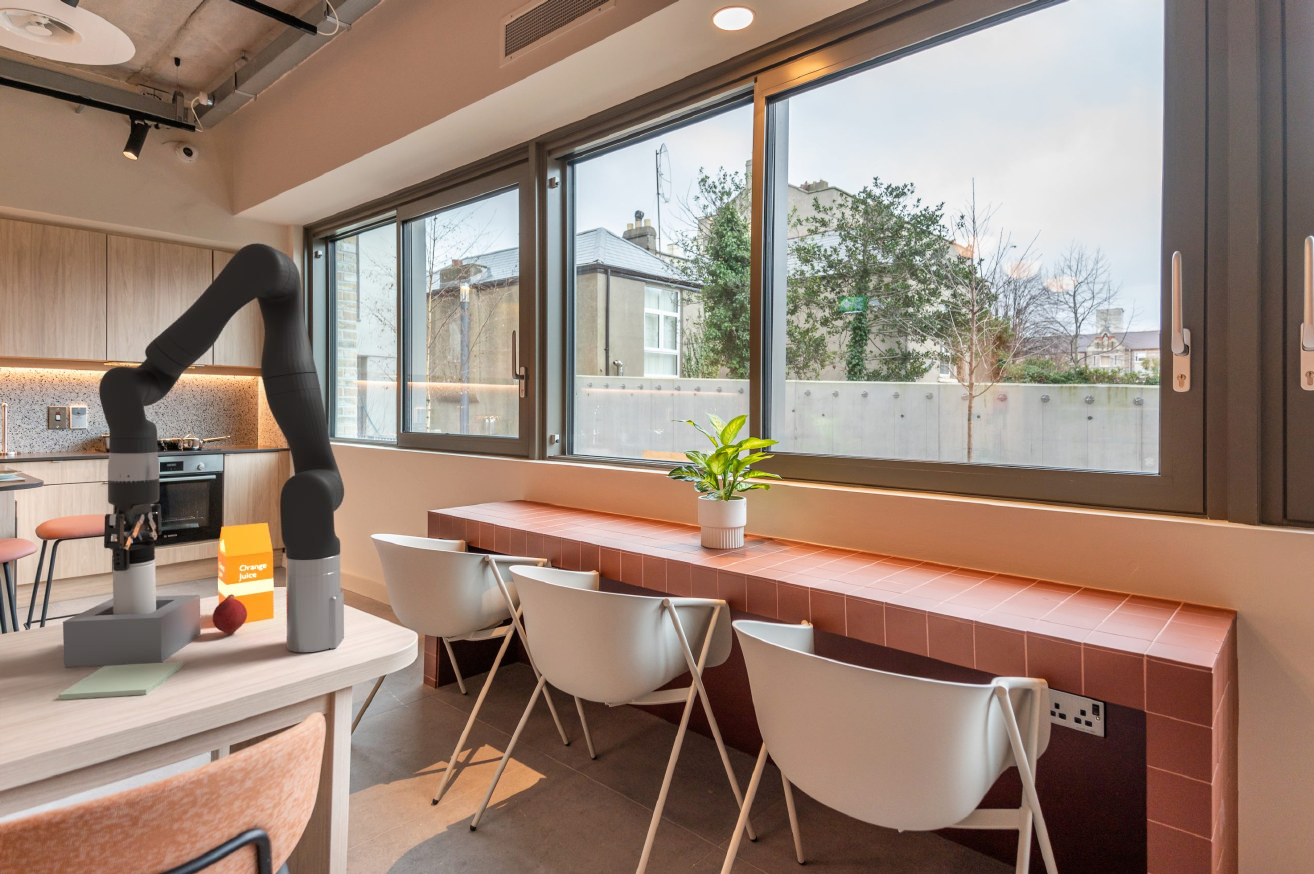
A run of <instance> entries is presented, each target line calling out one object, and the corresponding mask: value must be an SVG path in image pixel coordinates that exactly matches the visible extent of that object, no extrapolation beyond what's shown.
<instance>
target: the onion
mask: <svg viewBox="0 0 1314 874" xmlns="http://www.w3.org/2000/svg"><path fill="white" fill-rule="evenodd" d="M246 619H247V610H246V608H245V606H244V605H243V604H242V603H241V602H240V601H238V600H236V599H234V595H233V594H229V595H228V596H227V597H226V599H225V600H224V601H222V602H221V603H220V604H219V603H218V605H217V606H216V607H215V609H214V611H213V613H212V624H213V625H214V627H215V628H216V629H217V630H219V631H221V632H223V633H224V634H226V635H232V634H234V633H236V632H237V630H239V629H240V628H241V627H242V626H243V625H244V624H246V623H245V621H246Z"/></svg>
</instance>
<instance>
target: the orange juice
mask: <svg viewBox="0 0 1314 874" xmlns="http://www.w3.org/2000/svg"><path fill="white" fill-rule="evenodd" d="M217 568H218V569H217V571H218V572H217V575H218V576H217V587H218V588H217V590H218V605H219V604H220V603H221V602H222V601H224V600H225V599H226V597H227V596H228V595H229V594H233V595H234V599H236V600H238V601H240V602H241V603H242V604H243V605H244V606H245V608H246V610H247V619H246V621H245V623H244V624H249V623H254V622H259V621H264V620H269V619H268V618H271V619H274V618H275V616H274V615H275V614H274V613H275V612H274V591H275V590H274V551H273V545H272V539H271V536H270V529H269V524H268V522H264V523H250V524H242V525H241V524H240V525H230V526H229V525H227V526H221V531H220V536H219V542H218V550H217Z"/></svg>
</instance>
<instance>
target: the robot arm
mask: <svg viewBox="0 0 1314 874" xmlns="http://www.w3.org/2000/svg"><path fill="white" fill-rule="evenodd" d="M302 293H303V292H302V282H301V275H300V271H299V269H298V266H297V264H296V263H295V262H294V260H293V259H292V258H291V257H289V255H287V254H286V253H284V252H282V251H280V250H279V249H277V248H275V247H272V246H270V245H267V244H264V243H259V242H258V243H256V242H255V243H251V244H247V245H245V246H243V247H242V248H240V249H239V250H238V251H237V252H236V253H235V254H234V255H233V256H232V258H231V259H230V260H229V261H228V262H227V264H226V265H225V266H224V267H223V269H222V270H221V271H220V273H219V274H218V275H217V276H216V278H215V279H214V280H213V281H212V282H211V284H209V286H208V287H207V288H206V289H205V290H204V292H203V293H201V295H200V296H199V297H198V298H197V299H196V301H195V302H194V303H193V304H191V305H190V307H189V308H188V309H187V310H185V312H184V313H182V314H181V315H180V316H179V317H178V318H177V319H175V321H174V322H173V323H171V324H170V325H169V326H168V327H167V328H166V329H164V331H162V332H161V333H159V334H158V336H156V338H154V339H153V340H152V341H150V343H148V345H147V346H146V348H145V350H144V354H145V357H146V359H144V360H143V362H142V363H140V364H139V365H138V366H137V367H128V366H116V367H112V368H110V369H108V370H107V371H106V372H105V373H104V374H103V376H102V377H101V379H100V383H99V388H98V394H99V401H100V404H101V407H102V412H103V414H104V418H105V421H106V423H107V426H108V429H109V433H108V435H109V437H108V438H109V439H108V441H109V443H108V444H109V447H108V448H109V455H108V461H107V502H108V504H110V505H112V506H116V507H117V508H116V513H106V514H105V515H104V532H103V533H104V535H103V547H104V549H110V550H111V551H112V570H113V569H114V570H115V571H126V570H128V569H129V567H130V565H129V546H130V544H131V543H132V541H133V540H134V539H135V538H136V537H138V538H139V541H138V542H142V541H146V540H157V538H158V536H159V535H162V532H163V527H162V506H161V504H160V503H158V502H159V500H160V462H159V455H158V429H157V428H158V427H157V425H156V424H155V423H154V422H152V421H151V420H148V419H147V417H146V411H145V407H148V406H152V405H154V404H156V403H158V402H160V401H161V400H162V399H163V398H164V397H166V395H168V394H169V392H171V390H172V388H173V387H174V386H175V384H176V383H177V382H178V380H180V377H181V376H182V374H183V373H184V371H186V370H188V369H189V368H190V367H191V366H192V365H193V364H195V362H197V361H198V360H199V359H200V358H202V356H203V355H205V354H206V353H207V352H208V351H209V350H210V349H211V348H212V347H213V346H214V344H215V343H216V342H217V340H218V339H219V336H220V335H221V334H222V332H223V330H224V328H225V326H226V325H227V324H228V322H229V321H230V320H231V319H232V318H233V317H234V316H235V314H236V313H237V312H239V311H240V310H241V309H242V308H243V307H244V306H246V305H247V304H249V303H250V302H252V301H253V300H256V299H257V302H258V305H259V309H260V313H261V316H262V322H263V329H264V336H263V337H264V338H263V347H262V353H261V360H260V361H261V363H260V365H261V366H260V370H261V379H262V383H263V388H264V392H265V397H266V401H267V404H268V407H269V411H270V412H271V414H272V416H273V418H274V421H275V422H276V424H277V426H278V427H279V429H280V431H281V432H282V434H283V436H284V438H285V440H286V442H287V444H288V447H289V449H290V454H291V458H292V465H293V469H294V470H293V471H294V474H293V475H292V476H291V477H290V478H288V479H287V480H286V481H285V483H284V485H283V486H282V489H281V493H280V498H279V506H280V507H279V510H280V512H279V513H280V514H279V515H280V529H281V531H280V532H281V541H282V544H283V546H284V548H285V556H286V557H285V577H286V578H285V583H286V585H285V586H286V590H285V592H286V594H285V595H286V597H285V598H286V606H285V607H286V648H287V650H288V651H290V652H293V653H312V652H313V653H314V652H319V651H325V650H329V648H330V649H336V648H337V647H338V646H339V645H340V644H341V643H342V641H343V640H344V638H345V606H344V605H345V601H344V599H345V596H344V595H345V594H344V592H345V591H344V590H343V589H341V587H342V586H341V585H342V583H341V540H340V538H339V537H338V536H337V535H336V531H335V512H336V510H338V509H339V508H340V506H341V505H342V502H344V501H343V500H344V497H345V486H344V482H343V479H342V476H341V474H340V470H339V466H338V465H337V461H336V458H335V455H334V451H333V448H332V445H331V442H330V436H329V431H328V430H329V429H328V424H327V423H328V422H327V417H326V412H325V407H324V401H323V397H322V390H321V385H320V381H319V376H318V371H317V368H316V363H315V359H314V356H313V355H314V354H313V349H312V346H311V342H310V338H309V333H308V330H307V326H306V320H305V315H304V305H303V295H302ZM112 537H113V538H112ZM342 639H343V640H342ZM339 643H340V644H339Z"/></svg>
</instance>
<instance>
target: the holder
mask: <svg viewBox="0 0 1314 874" xmlns="http://www.w3.org/2000/svg"><path fill="white" fill-rule="evenodd" d="M62 631H63V668H64V667H66V668H75V667H74V666H79V667H78V668H81V667H80V666H85V667H104V666H111V665H130V664H149V663H164V662H165V661H166V660H167V659H169V658H171V656H173V655H175V654H176V653H177V652H178V651H180V650H182V649H183V648H184V647H185V646H187V645H189V644H190V643H191V642H193V641H194V640H195V639H197V638H198V637H200V636H201V594H189V595H188V594H186V595H182V594H181V595H159V596H157V595H156V611H154V612H152V613H148V614H123V615H114V607H113V598H111V599H109V600H107V601H104V602H102V603H100V604H98V605H95V606H94V607H91V608H89V609H87V610H85V611H83V612H81V613H80V612H79V613H78V614H76V615H74V616H72V617H70V618H68V619H66V620H64V621H62Z"/></svg>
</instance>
